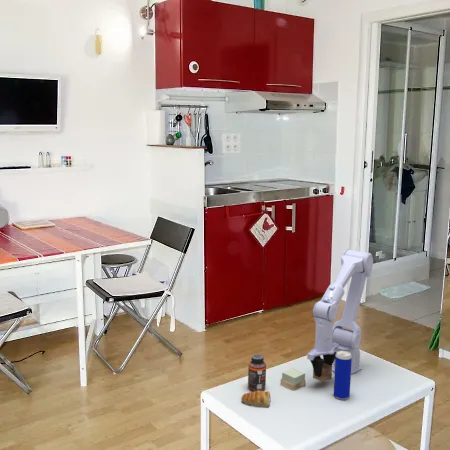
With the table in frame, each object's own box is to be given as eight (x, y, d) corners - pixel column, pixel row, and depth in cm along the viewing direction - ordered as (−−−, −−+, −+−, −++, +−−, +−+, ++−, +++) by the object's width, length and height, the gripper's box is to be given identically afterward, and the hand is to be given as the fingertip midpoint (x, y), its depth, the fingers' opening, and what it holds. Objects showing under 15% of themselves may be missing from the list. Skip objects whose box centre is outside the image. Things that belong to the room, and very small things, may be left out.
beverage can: (339, 391, 182) (341, 348, 180) (352, 396, 179) (355, 353, 176) (330, 396, 179) (332, 353, 176) (343, 402, 175) (346, 358, 173)
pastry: (240, 407, 172) (240, 395, 171) (242, 396, 179) (242, 385, 178) (270, 408, 171) (270, 397, 170) (270, 398, 178) (271, 387, 177)
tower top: (292, 374, 190) (292, 367, 189) (304, 380, 186) (305, 373, 185) (282, 379, 186) (282, 372, 186) (294, 385, 182) (294, 378, 182)
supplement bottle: (264, 393, 181) (265, 361, 179) (246, 391, 182) (247, 359, 180) (266, 385, 186) (267, 353, 184) (249, 383, 187) (250, 352, 185)
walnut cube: (321, 374, 190) (321, 361, 189) (331, 378, 187) (332, 366, 186) (312, 377, 187) (313, 365, 186) (323, 382, 184) (323, 369, 183)
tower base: (292, 380, 191) (292, 373, 190) (305, 386, 186) (305, 380, 186) (280, 385, 187) (280, 378, 186) (293, 392, 182) (293, 385, 182)
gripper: (319, 345, 176) (318, 384, 179) (346, 334, 186) (344, 371, 188) (302, 339, 182) (301, 377, 184) (330, 328, 191) (328, 364, 194)
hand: (322, 373), depth 187 cm, fingers closed on walnut cube, 4 cm apart
